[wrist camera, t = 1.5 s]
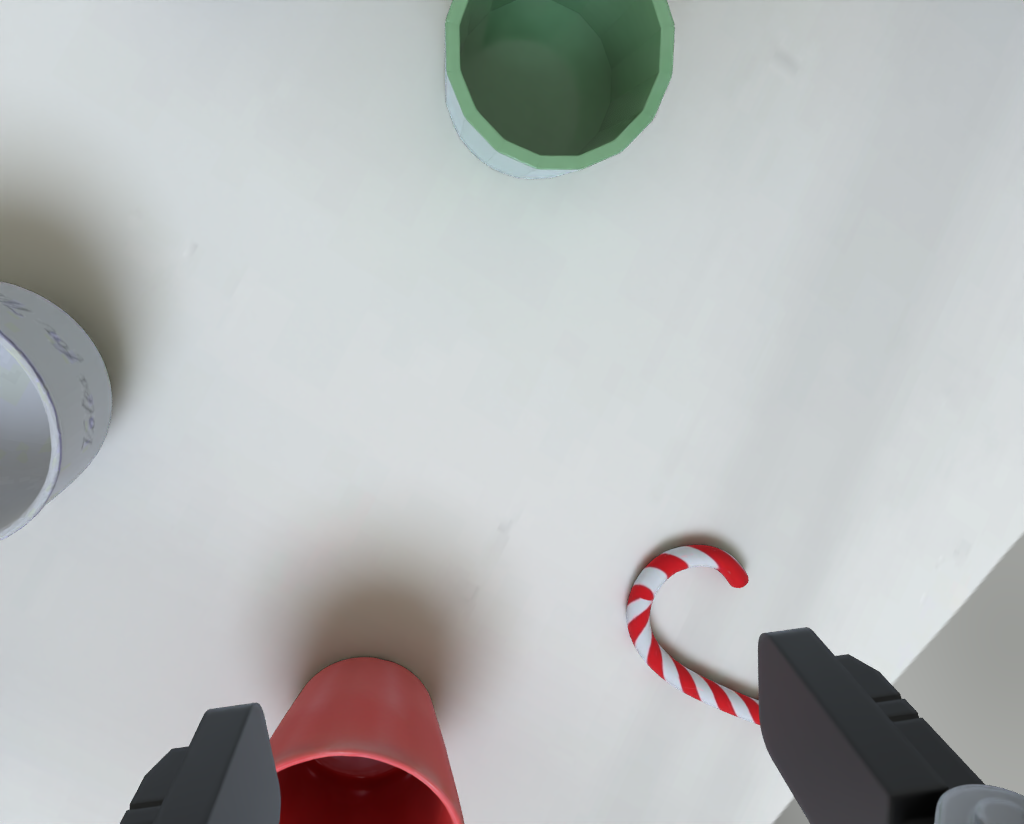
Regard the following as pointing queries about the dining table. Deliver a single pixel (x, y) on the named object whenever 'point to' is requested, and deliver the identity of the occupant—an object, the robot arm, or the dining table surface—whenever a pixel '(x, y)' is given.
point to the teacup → (45, 404)
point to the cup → (555, 79)
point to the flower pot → (364, 750)
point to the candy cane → (654, 652)
